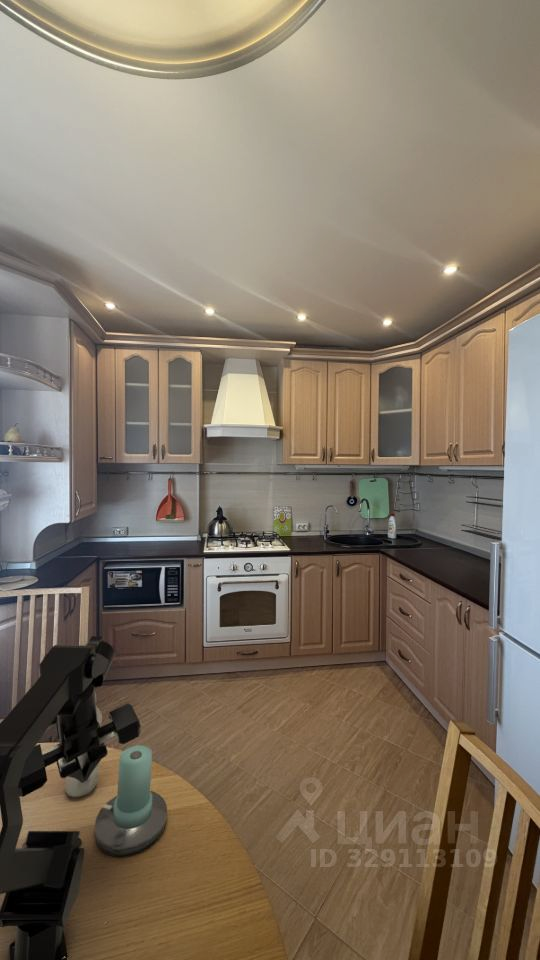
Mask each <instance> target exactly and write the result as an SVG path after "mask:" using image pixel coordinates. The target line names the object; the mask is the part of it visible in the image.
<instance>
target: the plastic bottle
mask: <svg viewBox="0 0 540 960" xmlns="http://www.w3.org/2000/svg"><path fill="white" fill-rule="evenodd" d="M95 698H96V699H97V693H96V692H95ZM96 710H97V722H99V724H100V727H102V726H101V725H102V720H103V715H102V712H101V709H99V707H98V706H97V705H96ZM82 757H83V755H81V756H79V757H78V759H79V762H80V765H81V768H82ZM99 774H100V773H99V763H98V764H97V766H96V767H95V768H94V770H93V771H92V773H91V775H90V776H89V778H88V779H87V781H84V782H83V783H81V782H80V781H78V780H77V779H75V778H72V777H66V778H64V788H65V791H66V793H67V795H68V796H69V797H72V798H80V797H83V796H86V795H88V794H89V793H91V792H92V791H93V790H94V789H95V787H96V785H97V783H98V779H99Z"/></svg>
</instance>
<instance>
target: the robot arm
mask: <svg viewBox="0 0 540 960" xmlns="http://www.w3.org/2000/svg"><path fill="white" fill-rule="evenodd" d="M115 656H116V650H115V649H114V647H113V646H112V645H111V644H110V643H108V642H106V641H104V636H100V635H99V636H98V635H97V636H92V635H91V637H90V639H89V640H88V642H86V644H85V645H84V644H82V645H79V644H75V645H74V644H54V645H53V646H52V647H51V648H50V649H49V650H48V652H47V653H46V654H45V655H44V656H43V658H42V660H41V662H40V663H39V665H38V666H39V677H38V678H37V680H36V681H35V682H34V683H33V684H32V685H31V687H30V688H29V689H28V690H27V692H25V694H23V696H22V697H21V699H20V700H19V701H18V702H17V703H16V704H15V706H13V707H12V709H11V710H10V711H9V712H8V714H7V715H6V716H5V717H4V719H3V720H2V721H0V817H1V824H2V825H1V830H0V895H3V894H4V898H3V901H2V904H1V906H0V928H4V927H15V937H14V938H15V940H14V941H12V942H10V943H9V947H8V956H9V957H8V958H9V960H62V958H63V957H64V956H65V957H66V958H65V959H63V960H67V958H68V957H69V955H68V950H67V944H66V938H65V933H64V928H63V927H65V926H66V923H67V921H68V918H69V916H70V913H71V911H72V909H73V906H74V904H75V902H76V900H77V897H78V894H79V891H80V884H81V878H82V877H81V876H82V871H83V867H84V866H83V865H84V864H83V863H84V857H85V848H84V847H82V845H83V841H82V839H81V838H80V834H81V832H80V830H77V831H75V830H73V831H72V830H59V831H58V830H28V831H27V833H26V838H25V842H23V843H22V845H21V847H17V844H18V842H19V838H20V834H21V831H22V827H23V825H24V818H23V817H24V816H23V811H22V804H21V797H22V798H24V797H25V796H28V795H29V794H31V793H33V792H36V791H38V790H39V789H41V788H43V787H44V785H45V784H46V783H47V782H48V775H47V769H46V767H48V766H51V765H53V764H54V763H56V765H57V770H58V772H59V777H60V778H61V779H66V777H72V778H75V779H77V780H78V781H80V782H81V783H83V782H84V781H87V779H88V778H89V776H90V775H91V773H92V771H93V770H94V768H95V767H96V766H97V764H98V765H99V763H100V762H101V760H103V759H104V758H105V757H107V755H108V752H109V751H108V749H107V746H106V743H105V742H107V741H108V740H111V739H113V738H114V737H116V736H117V741H118V743H119V744H120V745H125V744H127V743H130V742H132V741H134V740H135V739H136V738H139V737H140V734H141V733H142V732H141V731H142V730H141V722H140V720H139V717H138V715H137V714H136V711H135V710H134V707H133V705H132V704H130V703H125V704H123V705H120V706H118V707H115V708H114V709H112V710H110V711H108V712H107V714H108V715H107V717H108V719H109V720H111V721H110V722H108V723H106V724H105V725H102V726H100V724H99V722H97V710H96V706H97V697H96V698H95V693H96V689H95V688H98V687H99V688H100V687H102V685H103V683H104V682H105V679H106V677H107V674H108V672H109V670H110V668H111V665H112V663H113V661H114V659H115ZM54 725H55V731H56V737H57V740H59V743H57V744H55V745H53V746H51V747H49V748H47V749H45V750H43V751H42V747H41V744H40V743H39V741H40V740H41V739H42V737H43V735H44V734H45V733H46V731H47V729H49V727H51V726H54ZM81 755H83V757H82V768H81V765H80V762H79V759H78V757H79V756H81ZM68 959H69V958H68Z"/></svg>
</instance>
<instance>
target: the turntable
mask: <svg viewBox="0 0 540 960" xmlns="http://www.w3.org/2000/svg"><path fill="white" fill-rule="evenodd" d="M150 792H151V793H152V812H151V815H150V817H149V819H148V820H147V821H146V822H145V823H143V824H142V825H140V826H138V827H136V828H132V829H123V828H120V827H118V826H117V825H116V824H115V823H114V820H113V815H114V802H115V799H116V798H117V795H116V796H114V797H113V798H111V799H110V800H108V801H107V802H105V804H104V805H103V806H102V807H101V808H100V810H99V811H98V813H97V816H96V818H95V822H94V835H95V838H97V840H98V842H99V843H100V844H101V845H102V846H104V847H106V848H108V849H111V850H115V851H127V850H132V849H136V848H139V847H141V846H143V845H145V844H147V843H148V842H150V841H151V840H153V839H154V838H155V837H156V836H157V835H158V834H159V833H160V831H161V830H162V828H163V827H164V828H165V825H166V824H165V823H166V822H167V817H168V814H167V813H168V808H167V803H166V800H165V799H164V797H162V795H160V794H159V793H157V792H155V791H153V790H150ZM97 840H96V841H97Z"/></svg>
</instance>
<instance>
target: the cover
mask: <svg viewBox="0 0 540 960" xmlns="http://www.w3.org/2000/svg"><path fill="white" fill-rule="evenodd" d="M152 762H153V751H152V749H151V748H149V747H148V746H146V745H133V746H130V747H128V748H126V749H125V750H123V751H122V752H121V753H120V755H119V758H118V777H117V792H116V793H117V794H116V796H117V798H116V799H115V802H114V815H113V820H114V823H115V824H116V825H117V826H118V827H120V828H123V829H132V828H136V827H138V826H140V825H142V824H143V823H145V822H146V821H147V820H148V819H149V817H150V815H151V812H152V793H151V792H150V791H151V781H152V780H151V778H152Z"/></svg>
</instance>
